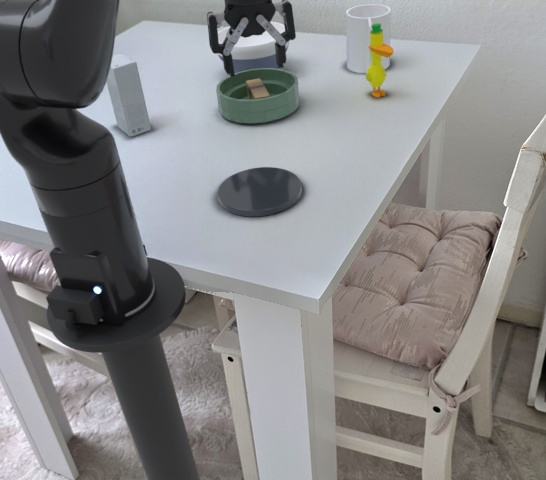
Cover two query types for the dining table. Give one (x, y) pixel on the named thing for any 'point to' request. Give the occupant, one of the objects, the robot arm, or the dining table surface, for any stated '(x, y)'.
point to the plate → (259, 191)
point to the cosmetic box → (127, 96)
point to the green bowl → (258, 110)
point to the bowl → (253, 50)
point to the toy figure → (377, 59)
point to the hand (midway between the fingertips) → (256, 70)
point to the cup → (365, 35)
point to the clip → (256, 89)
